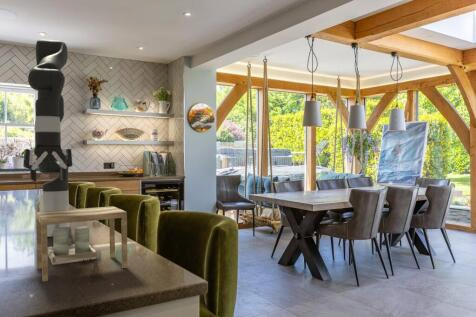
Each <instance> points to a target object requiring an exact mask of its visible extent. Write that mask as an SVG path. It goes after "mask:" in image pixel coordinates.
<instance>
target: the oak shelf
mask: <svg viewBox="0 0 476 317" xmlns="http://www.w3.org/2000/svg"><path fill="white" fill-rule="evenodd" d="M127 213H128V212H127V211H125V210H123V209H121V208H118V207H116V206H100V207H99V206H97V207H87V208H75V209H72V208H71V209H69V210H59V211H46V212H37V211H36V212H35V228H36V233H35V234H36V235H35V237H36V239H35V240H36V269H37V270H41V281H42V282H43V283H45V282H49V267H48V266H49V264H48V263H49V260H48V258H49V256H48V248H47V247H48V237H47V225H50V224H61V223H69V224H71V223H79V222H81V223H83V222H91V221H103V220H109V221H108V222H109V224H108V225H109V258H110V259H111V258H112V259H116V241H115V240H116V234H115V233H116V231H115V228H116V227H115V223H116V222H115V219H120V221H121V222H120V224H121V227H120V230H121V233H120V235H121V269H123V268H126V269H128V268H129V267H128V214H127Z"/></svg>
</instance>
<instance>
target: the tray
mask: <svg viewBox="0 0 476 317" xmlns="http://www.w3.org/2000/svg"><path fill="white" fill-rule="evenodd" d="M52 238H53V240H52V241H53V242H52V243H53V246H47V248H48V258H49V260H50V262H51V264H52V266H53V265H62V264H63V265H64V264H67V263H75V262H84V261H90V259H91V260H97V251H96V249H95V248H94V247H92V245H90V227H89V226H78V227H75V228H74V243H72V228H71V226H69V227H63V228H59V229H56V230H53V237H52ZM83 260H84V261H83Z"/></svg>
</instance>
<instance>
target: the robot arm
mask: <svg viewBox="0 0 476 317" xmlns="http://www.w3.org/2000/svg"><path fill="white" fill-rule="evenodd" d="M68 52H69V51H68V47H67V44H66V43H65V42H64V41H61V40H53V39H38V40H36V43H35V60H36V62H35V63H36V66H33V68H31V70H30V71H29V73H28V76H27V81H28V85H29V86H30V88H31V89H33V90H34V91H37V99H36V100H35V104H34V105H35V106H34V107H35V108H34V109H35V110H34V111H35V117H34V118H35V120H34V146H35V147H34V149H30V148H25V149H23V168H25V169H28V170H29V178H30V180H31V181H32V182H33V183H34V182H35V183H36V182H37V168H38V172H39V173H41V174H58V177H56V178H55V179H54V180H51V181H48V182H45V183H43V185H42V194H43V212H46V211H59V210H70V206H69V205H70V204H69V202H70V201H69V199H70V198H69V196H70V195H69V191H70V190H69V188H70V187H69V168H70V167H73V156H72V149H71V148H64V149H63V148H62V143H61V142H62V141H61V140H62V139H61V136H62V135H61V132H62V131H61V122H62V120H63V119H64V115H65V104H64V103H65V100H64V97H63V95H62V92H63V90H64V87H65V82H66V78H65V74H64V73H63V72H62V69H63V68H64V66H66V65H67V62H68V54H69V53H68ZM33 154H34V156H35V157H36V158H35V159H34V161H33V163H31V164H30V159H31V158H30V157H32V155H33ZM63 227H70V223H61V224H50V225H47V238H48V237H52V238H53V230H56V229H59V228H63Z"/></svg>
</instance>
